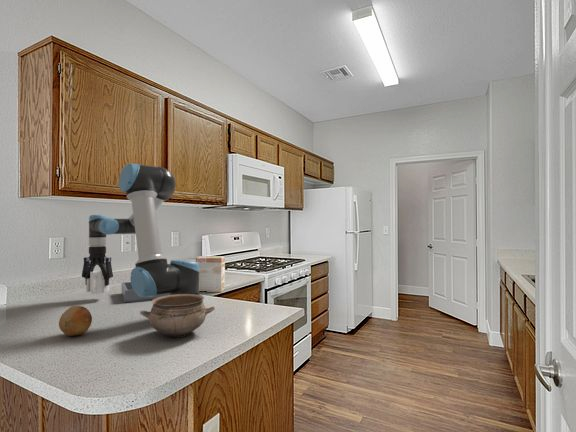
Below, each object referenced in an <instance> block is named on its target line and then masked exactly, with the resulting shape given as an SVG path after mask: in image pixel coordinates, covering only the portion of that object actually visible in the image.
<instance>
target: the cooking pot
mask: <svg viewBox="0 0 576 432" xmlns="http://www.w3.org/2000/svg"><path fill="white" fill-rule="evenodd" d="M204 300H205V297H204V296H202V295H201V294H199V295H195V294H175V295H167V296H162V297H158V298H155V299H153V300H152V301H151V303H152V307H151V309H150V311H146V310H143V309H142V310H140V311H139V313H140V315H141V316H142V317H145V318H147V319H148V320H149V323H150V325H151V326H152V328H153V329H154V330H155V331H157V332H159V333H160V334H162V335H165V336H167V337H170V338H181V337H182V336H183V337H185V336H188V335H189V334H190V333H192V332H194V331H195V330H196V329H198V328H200V327H201V325H203V324H204V322H205V320H206V316H207V315H208V314H210V313H212V312H213V311H215V306H211V307H206V306H205V303H204Z"/></svg>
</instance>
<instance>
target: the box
mask: <svg viewBox="0 0 576 432" xmlns="http://www.w3.org/2000/svg"><path fill="white" fill-rule="evenodd" d="M121 295H122V299H123V301H124V303H125V304H130V303H140V302H142V303H143V302H149V301H151V302H152V300H153V299H155V298H158V297H162V296H167V295H170V293H169V294H163V295H157V296H153V297H140V296H138V295H137V294H136V293H135V291H134V290H133V288H132V285H131V281H125V282H124V281H123V282H121Z"/></svg>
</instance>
